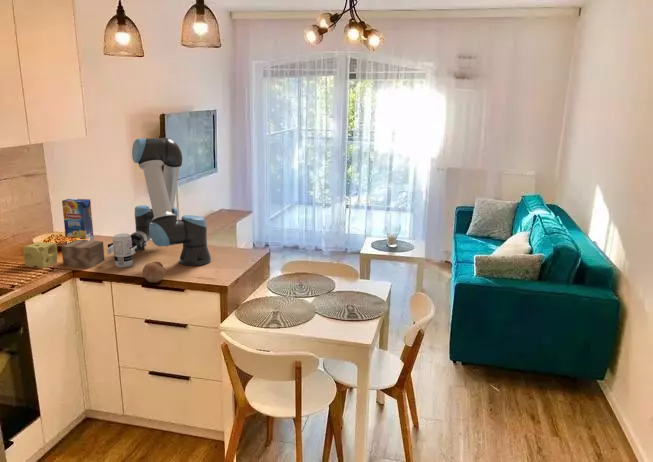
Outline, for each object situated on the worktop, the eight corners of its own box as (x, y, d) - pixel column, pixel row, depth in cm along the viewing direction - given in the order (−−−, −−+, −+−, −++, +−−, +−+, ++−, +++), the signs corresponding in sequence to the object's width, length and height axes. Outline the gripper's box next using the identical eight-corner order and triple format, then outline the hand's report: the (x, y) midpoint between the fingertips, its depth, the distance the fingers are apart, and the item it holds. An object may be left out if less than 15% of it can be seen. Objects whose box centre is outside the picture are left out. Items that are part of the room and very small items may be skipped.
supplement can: (114, 263, 252) (112, 234, 248) (132, 262, 255) (130, 232, 252) (115, 268, 245) (112, 238, 241) (133, 267, 248) (131, 236, 244)
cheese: (43, 268, 242) (41, 248, 240) (23, 266, 244) (21, 246, 242) (58, 262, 252) (56, 242, 250) (39, 260, 254) (37, 240, 252)
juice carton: (94, 241, 289) (90, 199, 283) (86, 245, 282) (82, 201, 276) (74, 240, 291) (70, 198, 285) (66, 243, 284) (61, 200, 278)
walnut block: (104, 260, 257) (103, 241, 254) (90, 268, 245) (89, 248, 243) (78, 259, 258) (76, 239, 256) (63, 266, 247) (61, 246, 244)
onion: (162, 285, 233) (170, 265, 234) (156, 287, 224) (166, 266, 224) (142, 277, 233) (151, 257, 233) (136, 279, 223) (145, 257, 224)
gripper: (159, 247, 266) (144, 260, 245) (115, 246, 267) (96, 258, 245) (158, 233, 265) (143, 245, 243) (114, 232, 265) (94, 243, 243)
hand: (119, 251), depth 244 cm, fingers open, 10 cm apart
